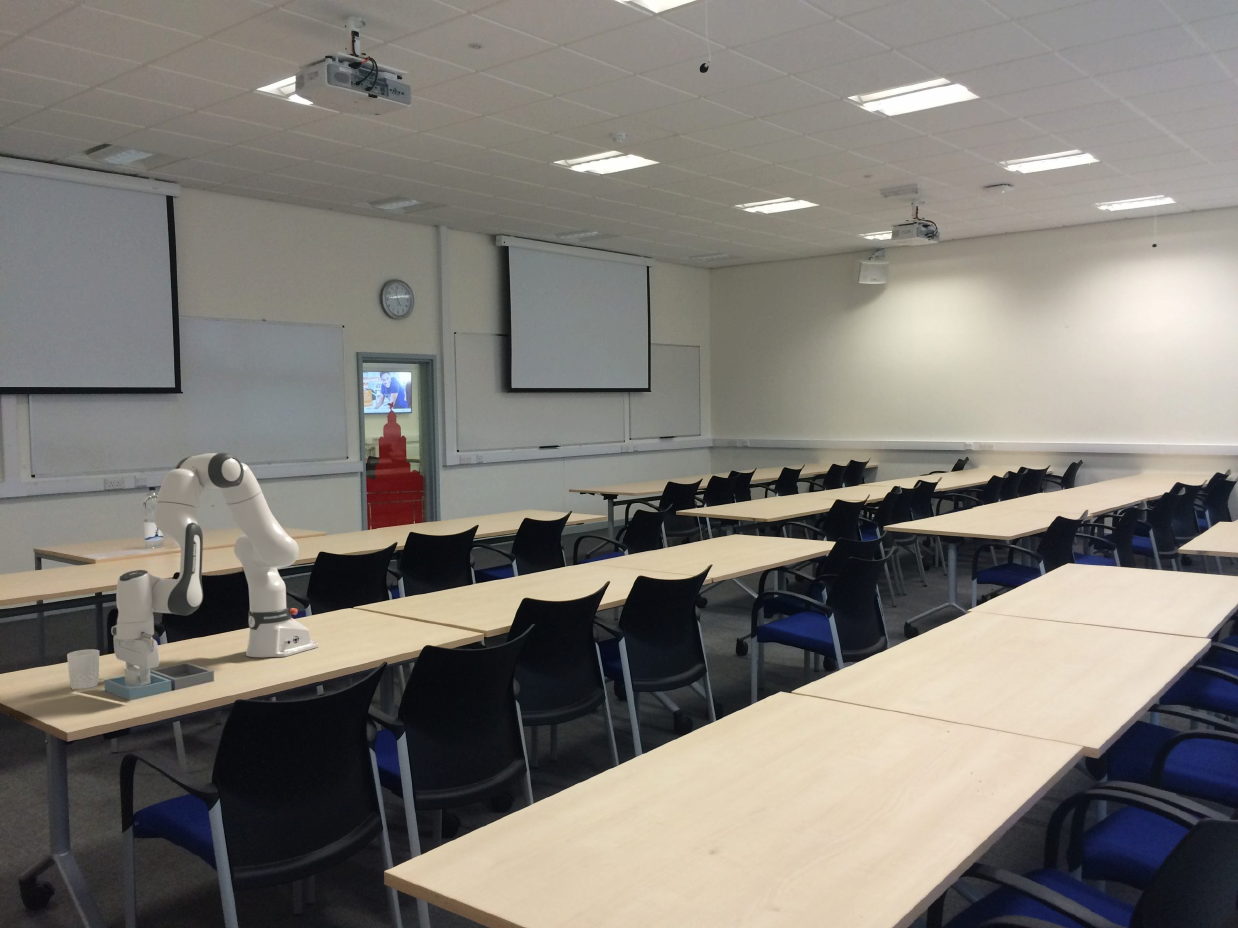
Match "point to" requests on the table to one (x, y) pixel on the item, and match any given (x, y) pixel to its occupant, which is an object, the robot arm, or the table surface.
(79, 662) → the white cup
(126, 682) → the white cube
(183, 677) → the tray
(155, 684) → the bin
